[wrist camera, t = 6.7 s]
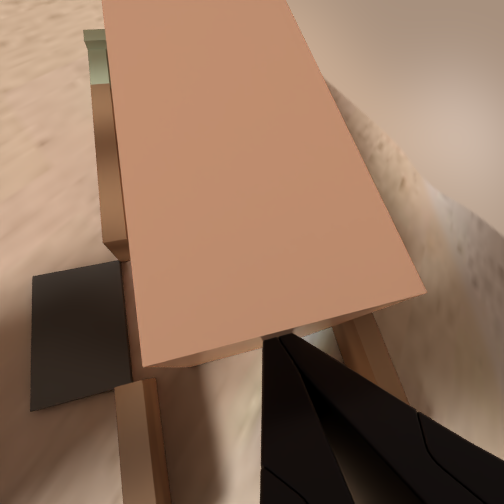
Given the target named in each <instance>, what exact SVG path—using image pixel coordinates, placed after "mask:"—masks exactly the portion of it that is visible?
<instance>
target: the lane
mask: <svg viewBox="0 0 504 504" xmlns="http://www.w3.org/2000/svg"><path fill="white" fill-rule="evenodd" d="M83 31H84V42H85V44H86V46H87V49H88V58H89V71H90V84H91V97H92V109H93V122H94V135H95V148H96V161H97V173H98V186H99V199H100V212H101V225H102V238H103V243H104V245H105V246H106V247H107V248H108V249H109V250H110V251H111V252H112V253H113V254H114V255H115V256H116V258H117V259H118V260H117V261H112V262H107V263H102V264H96V265H91V266H86V267H80V268H75V269H70V270H64V271H59V272H54V273H48V274H43V275H38V276H33V279H32V339H31V399H30V412H31V411H35V410H39V409H42V408H46V407H50V406H53V405H57V404H61V403H64V402H68V401H72V400H76V399H79V398H83V397H87V396H90V395H94V394H98V393H101V392H105V391H109V390H112V389H114V391H115V404H116V417H117V430H118V442H119V455H120V468H121V481H122V494H123V504H172V503H171V495H170V487H169V479H168V471H167V463H166V456H165V448H164V440H163V432H162V424H161V416H160V408H159V400H158V392H157V384H156V378H151V379H145V380H140V381H136V382H133V380H132V370H131V360H130V350H129V339H128V329H127V319H126V309H125V299H124V289H123V279H122V269H121V262H125V261H130V260H131V258H130V249H129V240H128V231H127V222H126V213H125V205H124V196H123V187H122V178H121V169H120V160H119V151H118V142H117V133H116V124H115V115H114V106H113V97H112V88H111V79H110V70H109V61H108V52H107V43H106V34H105V29H96V30H83ZM332 329H333V332H334V334H335V337H336V340H337V343H338V346H339V349H340V352H341V354H342V357H343V360H344V363H345V366H347V367H348V368H350V369H352V370H353V371H355V372H356V373H358V374H360V375H361V376H363V377H365V378H366V379H368V380H369V381H371V382H373V383H374V384H376V385H377V386H379V387H381V388H382V389H384V390H385V391H387V392H389V393H390V394H392V395H393V396H395V397H397V398H398V399H400V400H401V401H403V402H405V403H406V404H408V405H409V402H408V400H407V397H406V395H405V392H404V390H403V387H402V385H401V382H400V380H399V378H398V375H397V373H396V370H395V368H394V365H393V363H392V360H391V358H390V355H389V353H388V350H387V348H386V345H385V343H384V341H383V338H382V336H381V333H380V331H379V328H378V326H377V323H376V321H375V318H374V316H373V313H369V314H366V315H363V316H361V317H358V318H355V319H352V320H349V321H347V322H344V323H341V324H338V325H335V326H332Z"/></svg>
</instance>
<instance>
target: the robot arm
mask: <svg viewBox="0 0 504 504" xmlns="http://www.w3.org/2000/svg"><path fill="white" fill-rule="evenodd" d="M260 504H504V461H503V460H502V459H500V458H498V457H496V456H494V455H493V454H491V453H489V452H487V451H485V450H483V449H482V448H480V447H478V446H476V445H474V444H473V443H471V442H469V441H467V440H466V439H464V438H462V437H461V436H459V435H457V434H456V433H454V432H452V431H450V430H449V429H447V428H445V427H444V426H442V425H440V424H439V423H437V422H436V421H434V420H432V419H431V418H429V417H427V416H426V415H424V414H423V413H421V412H417V411H416V409H414V408H413V407H411V406H410V405H408V404H406V403H405V402H403V401H401V400H400V399H398V398H397V397H395V396H393V395H392V394H390V393H389V392H387V391H385V390H384V389H382V388H381V387H379V386H377V385H376V384H374V383H373V382H371V381H369V380H368V379H366V378H365V377H363V376H361V375H360V374H358V373H356V372H355V371H353V370H352V369H350V368H348V367H347V366H345V365H344V364H342V363H340V362H339V361H337V360H336V359H334V358H332V357H331V356H329V355H328V354H326V353H324V352H323V351H321V350H320V349H318V348H316V347H315V346H313V345H311V344H310V343H308V342H307V341H305V340H303V339H302V338H300V337H299V336H297V335H295V334H294V333H290V334H286V335H282V336H279V337H278V338H277V337H274V338H271V339H267V340H263V349H262V420H261V476H260Z"/></svg>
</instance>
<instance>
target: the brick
mask: <svg viewBox="0 0 504 504" xmlns="http://www.w3.org/2000/svg"><path fill="white" fill-rule="evenodd" d="M102 7H103V16H104V25H105V34H106V43H107V52H108V61H109V70H110V79H111V88H112V97H113V106H114V115H115V124H116V133H117V142H118V151H119V160H120V169H121V178H122V187H123V196H124V205H125V213H126V222H127V231H128V240H129V249H130V258H131V267H132V276H133V285H134V294H135V303H136V312H137V321H138V330H139V339H140V348H141V357H142V366H143V367H192V366H196V365H200V364H203V363H207V362H211V361H215V360H218V359H222V358H226V357H229V356H233V355H237V354H240V353H244V352H248V351H252V350H255V349H259V348H263V340H267V339H271V338H274V337H277V338H278V337H279V336H282V335H286V334H290V333H294V334H295V335H297V336H299V337H303V336H307V335H310V334H313V333H316V332H318V331H321V330H324V329H327V328H330V327H332V326H335V325H338V324H341V323H344V322H347V321H349V320H352V319H355V318H358V317H361V316H363V315H366V314H369V313H372V312H375V311H378V310H380V309H383V308H386V307H389V306H392V305H394V304H397V303H400V302H403V301H406V300H408V299H411V298H414V297H417V296H420V295H423V294H425V293H427V291H426V289H425V287H424V285H423V283H422V281H421V279H420V277H419V274H418V272H417V270H416V268H415V266H414V264H413V262H412V260H411V258H410V256H409V254H408V252H407V250H406V248H405V246H404V243H403V241H402V239H401V237H400V235H399V233H398V231H397V229H396V227H395V225H394V223H393V221H392V219H391V217H390V215H389V212H388V210H387V208H386V206H385V204H384V202H383V200H382V198H381V196H380V194H379V192H378V190H377V188H376V186H375V184H374V181H373V179H372V177H371V175H370V173H369V171H368V169H367V167H366V165H365V163H364V161H363V159H362V157H361V155H360V153H359V150H358V148H357V146H356V144H355V142H354V140H353V138H352V136H351V134H350V132H349V130H348V128H347V126H346V124H345V122H344V119H343V117H342V115H341V113H340V111H339V109H338V107H337V105H336V103H335V101H334V99H333V97H332V95H331V93H330V91H329V89H328V86H327V84H326V82H325V80H324V78H323V76H322V74H321V72H320V70H319V68H318V66H317V64H316V62H315V60H314V58H313V56H312V53H311V51H310V49H309V47H308V45H307V43H306V41H305V39H304V37H303V35H302V33H301V31H300V29H299V27H298V24H297V22H296V20H295V18H294V16H293V14H292V12H291V10H290V8H289V6H288V4H287V2H286V0H102Z"/></svg>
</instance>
